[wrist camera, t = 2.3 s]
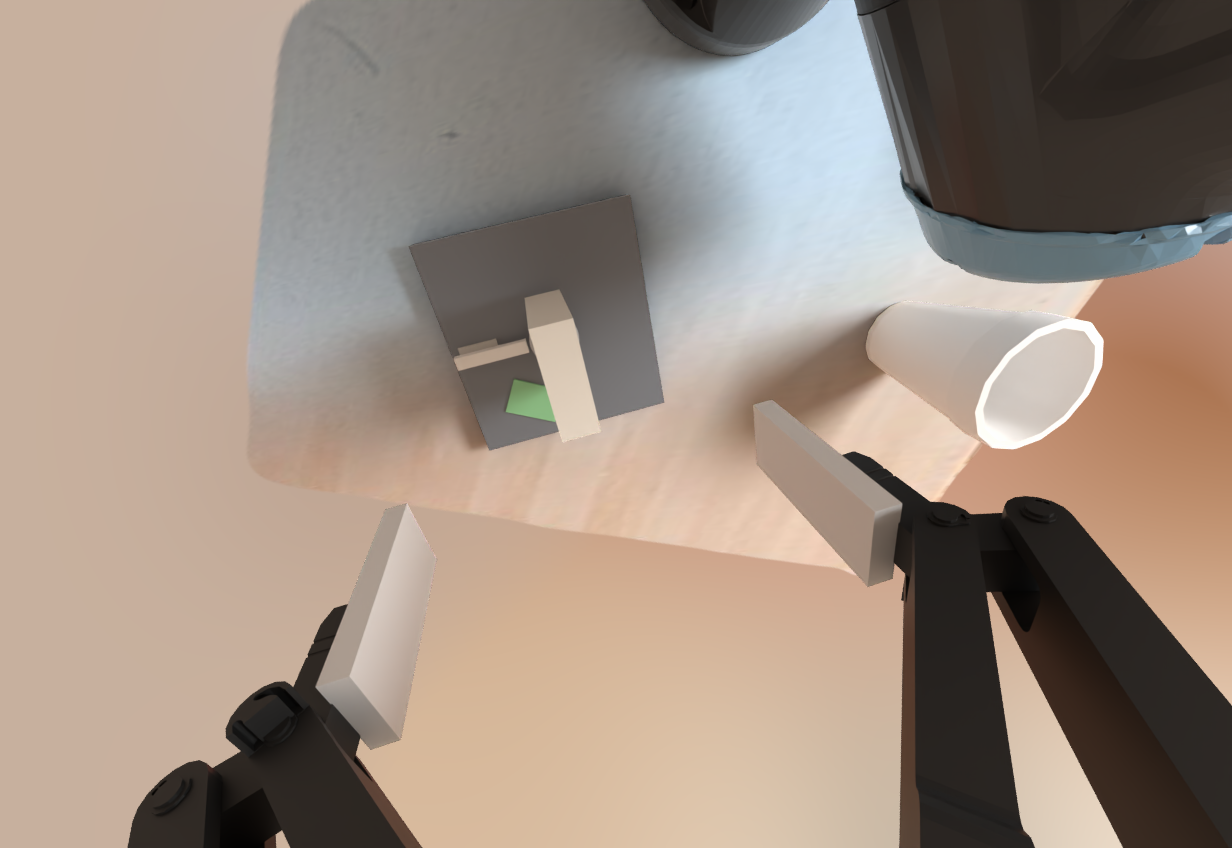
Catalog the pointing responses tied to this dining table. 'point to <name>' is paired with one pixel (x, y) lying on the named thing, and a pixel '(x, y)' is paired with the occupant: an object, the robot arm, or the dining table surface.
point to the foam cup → (989, 366)
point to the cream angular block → (551, 363)
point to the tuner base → (534, 264)
